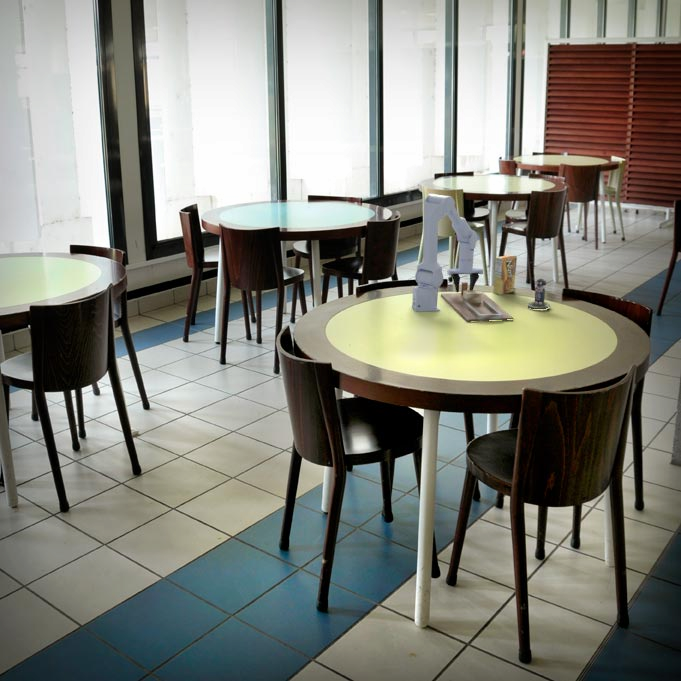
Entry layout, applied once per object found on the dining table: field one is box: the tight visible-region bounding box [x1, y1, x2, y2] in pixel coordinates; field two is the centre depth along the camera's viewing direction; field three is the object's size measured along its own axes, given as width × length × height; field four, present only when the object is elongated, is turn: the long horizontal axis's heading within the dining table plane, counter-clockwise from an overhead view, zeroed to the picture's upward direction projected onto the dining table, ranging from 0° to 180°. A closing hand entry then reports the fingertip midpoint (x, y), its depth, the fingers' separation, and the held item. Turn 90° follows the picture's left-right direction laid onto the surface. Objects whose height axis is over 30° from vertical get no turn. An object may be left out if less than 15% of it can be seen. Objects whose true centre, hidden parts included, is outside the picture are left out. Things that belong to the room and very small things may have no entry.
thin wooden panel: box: [440, 292, 514, 323], centre depth 331 cm, size 18×36×2 cm, turn 9°
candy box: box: [492, 254, 518, 296], centre depth 351 cm, size 9×4×15 cm, turn 129°
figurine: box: [527, 278, 551, 310], centre depth 330 cm, size 8×8×12 cm
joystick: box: [460, 281, 483, 304], centre depth 339 cm, size 6×14×5 cm, turn 9°
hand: (464, 291), depth 345 cm, fingers open, 5 cm apart
